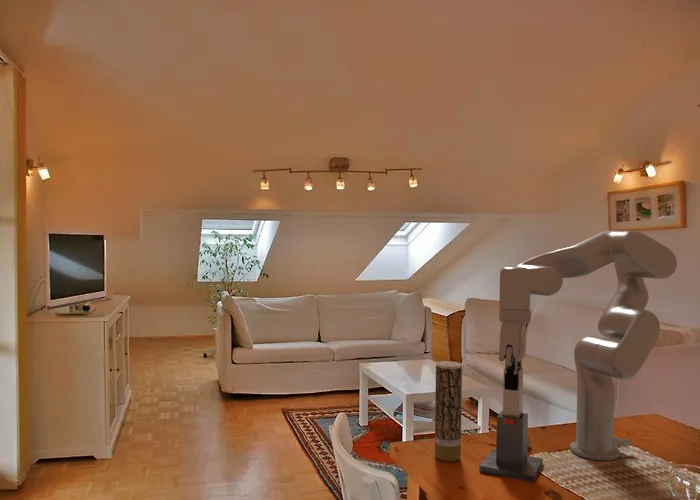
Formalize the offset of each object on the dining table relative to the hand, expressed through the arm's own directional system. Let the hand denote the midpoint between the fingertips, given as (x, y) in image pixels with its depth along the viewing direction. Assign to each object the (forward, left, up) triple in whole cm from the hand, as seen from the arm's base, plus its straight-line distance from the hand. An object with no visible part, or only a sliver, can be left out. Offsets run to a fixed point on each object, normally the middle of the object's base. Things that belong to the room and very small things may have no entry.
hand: (513, 386), depth 148 cm
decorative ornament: (-9, -17, -21) cm, 28 cm away
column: (0, 0, -13) cm, 13 cm away
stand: (0, 0, -21) cm, 21 cm away
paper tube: (+14, -8, -21) cm, 27 cm away
